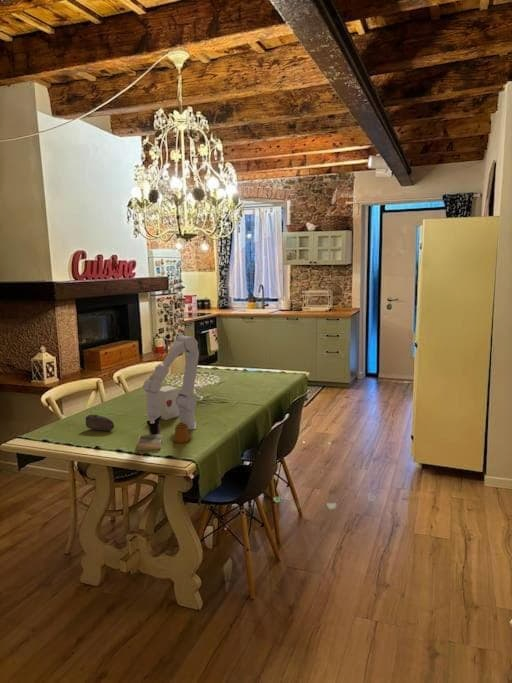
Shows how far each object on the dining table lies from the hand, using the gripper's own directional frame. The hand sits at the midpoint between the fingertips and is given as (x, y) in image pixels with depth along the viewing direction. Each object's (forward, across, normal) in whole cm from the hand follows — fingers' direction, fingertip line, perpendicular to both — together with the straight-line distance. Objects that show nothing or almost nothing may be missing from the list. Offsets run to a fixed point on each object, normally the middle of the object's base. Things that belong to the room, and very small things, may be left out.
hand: (155, 433), depth 222 cm
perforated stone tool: (+2, -13, -27) cm, 30 cm away
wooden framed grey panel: (+1, +10, -1) cm, 11 cm away
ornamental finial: (+2, +7, +13) cm, 14 cm away
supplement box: (+2, -28, +3) cm, 28 cm away
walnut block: (+1, 0, 0) cm, 1 cm away
